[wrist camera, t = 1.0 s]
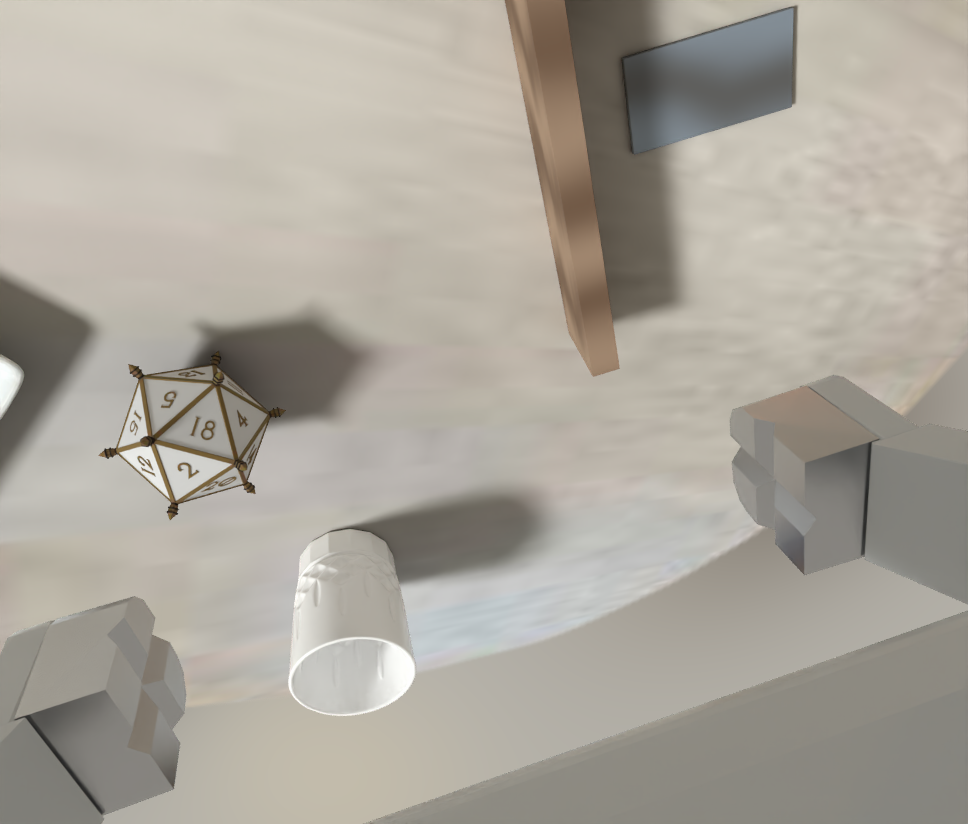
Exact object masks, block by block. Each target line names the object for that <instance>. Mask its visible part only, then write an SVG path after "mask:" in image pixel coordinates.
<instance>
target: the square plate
mask: <svg viewBox="0 0 968 824" xmlns="http://www.w3.org/2000/svg"><path fill="white" fill-rule="evenodd" d="M23 379H24V372H23V370H22V369H21V368H20V366H19V365H18V364H16V363H15V362H13V361H12V360H10V359H8V358H6V357H5V356H3V355H1V354H0V420H1V418H2V417H3V415H4V414H5V413H6V411H7V410H8V408H9V406H10V405H11V403H12V401H13V400H14V398H15V396H16V394H17V393H18V391H19V389H20V387H21V385H22V383H23Z"/></svg>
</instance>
